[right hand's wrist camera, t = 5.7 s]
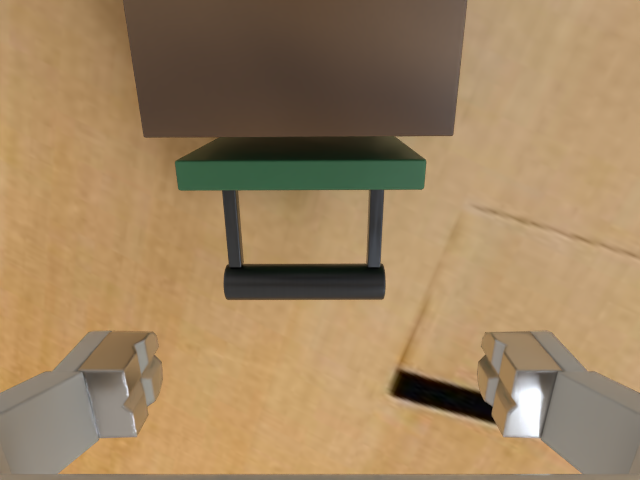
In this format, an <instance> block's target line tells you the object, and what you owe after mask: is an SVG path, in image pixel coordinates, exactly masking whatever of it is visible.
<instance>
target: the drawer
mask: <svg viewBox="0 0 640 480" xmlns="http://www.w3.org/2000/svg"><path fill="white" fill-rule="evenodd" d="M175 167H176V175H177V183H178V189H179V190H181V191H196V190H222V194H223V205H224V216H225V226H226V237H227V248H228V259H229V264H228V265H227V266H226V269H225V273H224V293H225V297H226V299H227V300H382V299H384V296H385V270H384V266H383V264H380V262H381V242H382V222H383V202H384V190H422V189H423V188H424V182H425V171H426V160H425V159H424V158H423V157H421V156H420V155H419V154H417V153H416V152H415V151H413V150H412V149H411V148H409V147H408V146H407V145H405V144H404V143H403V142H401V141H400V140H399V139H397V138H396V137H395V136H338V137H219V138H217V139H215V140H214V141H212V142H210V143H208V144H206V145H204V146H203V147H201V148H199V149H197V150H195V151H193V152H191V153H190V154H188V155H186V156H184V157H182V158H180V159H178V160H177V161H175ZM238 190H369V206H368V233H367V260H366V263H367V264H243V262H244V261H243V249H242V236H241V223H240V210H239V197H238Z"/></svg>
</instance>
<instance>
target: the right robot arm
mask: <svg viewBox="0 0 640 480" xmlns="http://www.w3.org/2000/svg"><path fill="white" fill-rule="evenodd" d="M158 347H159V344H158V339H157V335H156V334H155V333H154V332H144V331H92V332H88V334H87V335H86V336H85V337H84V338H83V339H82V340H81V341H80V342H79V343H78V344H77V345H76V346H75V347H74V349H73V350H72V351H71V352H70V353H69V354H68V355H67V356H66V357H65V358H64V359H63V360H62V361H61V362H60V364H59V365H58V366H57V367H56V368H55V369H54V370H53V371H52V372H43V373H41V374H39V375H37V376H35V377H33V378H31V379H29V380H27V381H24V382H22V383H20V384H18V385H16V386H14V387H12V388H10V389H8V390H6V391H4V392H1V393H0V480H640V393H638V392H636V391H634V390H632V389H630V388H628V387H626V386H624V385H622V384H620V383H618V382H615V381H613V380H611V379H609V378H607V377H605V376H603V375H601V374H599V373H597V372H588V371H587V370H586V369H585V368H584V367H583V366H582V365H581V363H580V362H579V361H578V360H577V359H576V358H575V357H574V356H573V355H572V354H571V353H570V352H569V351H568V350H567V348H566V347H565V346H564V345H563V344H562V343H561V342H560V341H559V340H558V339H557V338H556V337H555V336H554V335H553V333H551V332H549V331H547V330H546V331H524V332H485V334H484V336H483V338H482V344H481V347H482V349H483V351H484V353H485V354H486V355H485V356H484V357H483V358H482V359H481V360H480V361H479V362H478V370H477V378H478V386H479V389H480V393H481V395H482V397H483V399H484V401H485V402H487V403H488V404H490V405H491V406H493V410H492V416H493V418H494V420H495V422H496V424H497V426H498V428H499V430H500V432H501V434H502V435H503V437H521V438H541V440H542V441H543V442H544V443H546V444H547V445H548V446H549V447H550V448H552V449H553V450H554V451H555V452H557V453H558V454H559V455H560V456H561V457H563V458H564V459H565V460H566V461H567V462H569V463H570V464H571V465H572V466H574V467H575V468H576V469H577V470H578V471H580V472H581V473H582V474H58V473H59V472H60V471H62V470H63V469H64V468H65V467H67V466H68V465H69V464H70V463H71V462H73V461H74V460H75V459H76V458H78V457H79V456H80V455H81V454H82V453H84V452H85V451H86V450H87V449H89V448H90V447H91V446H92V445H93V444H95V443H96V442H97V441H98V440H99V438H118V437H137V436H138V434H139V432H140V430H141V428H142V426H143V424H144V422H145V420H146V418H147V416H148V410H147V406H149V405H150V404H152V403H153V402H155V401H156V399H157V397H158V395H159V393H160V389H161V385H162V380H163V369H162V362H161V361H160V360H159V359H158V358H157V357H156V356H155V355H154V354H155V353H156V351H157V349H158Z"/></svg>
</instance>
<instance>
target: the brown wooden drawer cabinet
mask: <svg viewBox="0 0 640 480" xmlns="http://www.w3.org/2000/svg"><path fill="white" fill-rule="evenodd" d="M123 3H124V10H125V16H126V23H127V29H128V36H129V42H130V49H131V55H132V62H133V69H134V75H135V82H136V88H137V95H138V101H139V108H140V114H141V121H142V127H143V134H144V137H146V138H147V137H338V136H452V135H453V131H454V122H455V112H456V103H457V93H458V84H459V74H460V65H461V55H462V46H463V36H464V27H465V17H466V8H467V0H123Z"/></svg>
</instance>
